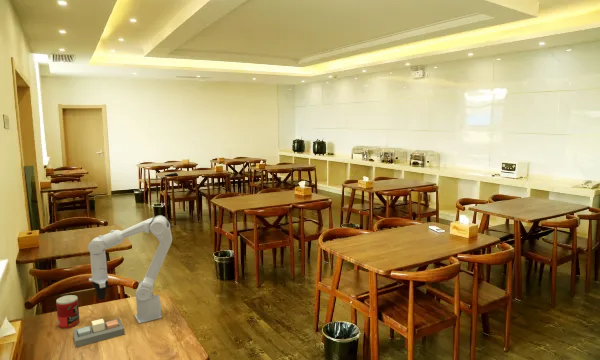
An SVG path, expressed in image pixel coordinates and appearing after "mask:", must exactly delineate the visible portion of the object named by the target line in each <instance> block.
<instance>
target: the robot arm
mask: <svg viewBox="0 0 600 360" xmlns="http://www.w3.org/2000/svg"><path fill="white" fill-rule="evenodd" d="M171 230H172V229H171V224H170V222H169V220H168V219H167V217H166V216H163V215H161V214H160V215H156V216H154V217H150V218H148V219H145V220H143V221H141V222H138V223H136V224H134V225H132V226H130V227H128V228H125V229H123V230H119V229H115V230H114V229H112V230H110V231H109V233H106V234H103V235H102V234H100V235H99V236H97V237H94V238H93V239H92V240H91V241H89V242H88V245H87V250H88V252H89V254H90V258H89V260H90V270H91V277H90V278H88V282H91V284H92V287H93V288H94V289H95V292H96V296H97V298H98V300H103V299H105V297H106V290H107V288H108V286H109V281H108V278H109V275H108V265H107V254H106V250H107V249H110V248H113V247H115V246H118V245H119V244H120V245H121V244H123V242H124V240H125V239H126V238H129V237H132V236H134V235H138V234H140V233H142V232H143V233H146V234H150V233H152V235H153V236H155V237H156V238H157V241H158V242H159V244H158V245H157V248H156V250H155V252H154V255H153V258H152V260H151V261H150V265H149V266H148V268H147V271H146V273H145V275H144V277H143V279H141V280H140V281H139V283H138V284H137V285H138V286H137V289H136V290H135V292H134V296H135V300H136V301H135V303H136V304H135V305H136V314H134V318H135V319H136V321H137V323H138V324H143V323H147V322H150V321H154V320H158V319H162V305H161V303H162V302H161V298H160V295H159V294H154V293H153V289H154V287H155V282H156V279H157V276H158V275H159V273H160V271H161V268H162V265H163V263H164V261H165V258H166V256H167V255H168V251H169V250H170V247H171V245H172V242H173V234H172V231H171Z"/></svg>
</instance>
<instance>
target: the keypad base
mask: <svg viewBox="0 0 600 360" xmlns="http://www.w3.org/2000/svg"><path fill="white" fill-rule="evenodd" d="M113 320H117V321H118V324H119V327H115V328H112V329H108V330H107V328H106V322H109V321H113ZM104 325H105V330H102V331H98V332H95V333H93V329H92V324H91V325H90V324H89V325H85V326H83V327H82V326H81V327H78V328H74V329H72V337H73V341H74V347H75V348H79V347H83V346H87V345H90V344H93V343H94V344H95V343H98V342H101V341H106V340H109V339H113V338H117V337H120V336H124V335H125V327H124V325H123V323H122V320H121V318H120V317H119V318H114V319H111V320H108V321H104ZM88 326H89V328H90V332H91V334H88V335H84V336H80V337H78V329H80V328H84V327H88Z"/></svg>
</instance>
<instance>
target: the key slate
mask: <svg viewBox="0 0 600 360" xmlns="http://www.w3.org/2000/svg"><path fill="white" fill-rule="evenodd" d="M87 326H88V327H86V326H83V327H84V328H82V327H79V328H80V329H78V328H77V329H78V337H80V336H84V335H88V334H91V332H90V328H89V326H90V325H87Z"/></svg>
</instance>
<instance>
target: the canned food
mask: <svg viewBox="0 0 600 360" xmlns="http://www.w3.org/2000/svg"><path fill="white" fill-rule="evenodd" d="M55 301H56V302H55V303H56V304H55V305H56V313H57V324H58V327H59V328H62V329H70V328H73V327H76V326H77V325H78V324H79V323H80V320H81V319H80V308H79V306H80V305H79V297H78V295H74V294H73V295H72V294H70V295H69V294H68V295H63V296H61V297H59V298H57V299H56V300H55Z"/></svg>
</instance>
